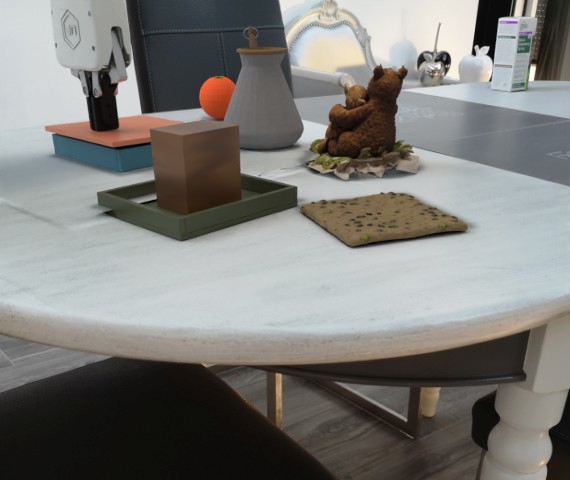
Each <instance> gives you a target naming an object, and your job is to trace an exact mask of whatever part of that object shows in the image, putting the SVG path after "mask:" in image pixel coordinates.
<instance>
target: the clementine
mask: <svg viewBox="0 0 570 480" xmlns="http://www.w3.org/2000/svg"><path fill="white" fill-rule="evenodd" d="M235 86H236V83H234V82H233V80H231V79H230V78H228V77H226V76H224V75H220V74H217V75H216V76H212V77H209V78H208V79H207V80H205V81H204V82H203V84H202V86H201V87H200V89H199V90H200V91H199V98H198V99H199V105H200V107H201V109H202V110H203V112H205V114H206V115H207V116H208V117H210V118H213V119H215V120H224V118H225V115H226V112H227V109H228V106H229V103H230V101H231V98H232V95H233V92H234V89H235Z"/></svg>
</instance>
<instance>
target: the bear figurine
mask: <svg viewBox="0 0 570 480" xmlns="http://www.w3.org/2000/svg"><path fill="white" fill-rule="evenodd" d="M372 73H373V75H371V77H370V78H369V79H368V83H367V86H366V87H365V86H362V85H361V84H354V85H352V86H350V85H349V83H348V82H345V83H344V85H343V86H344V87H343V91H344V92H343V93H344V95H345V101H344V104H345V106H344V105H342V104H341V103H335V104H334V105H333V106H332V107H331V109H330V110H329V113H328V122H329V124H328V126H327V128H326V130H325V135H324V138H317V139H315V140H313V141H312V142H311V144H310V145H309V146H310V147H309V148H308V150H309V151H310V152H313V153H314V154H317V155H319V156H317V157H316V158H315V159H312V160H308V161H307V163H308V164H309V165H307V164H305V167H306V168H307V169H308V168H311V169H313V170H315V171H317V172H320V173H321V174H322V175H323V174H327V173H330V172H333V173H334V175H335V176H337V177H338V178H340V179H342V180H343V181H348V180H350V174H352V173H355V174H356V175H358V179H382V178H383V175H384V173H385V171H387V170H393V169H394V170H395V171H404V172H407V173H412V174H418V169H419V162H420V156H418V155H414V154H415V151H414V150H413V147H414V145H412V144H410V143H406V144H405V143H404V142H405V139H399V140H397V126H396V115H397V113H398V109H399V105H398V104H397V101H398V98H399V95H400V94H401V91H402V88H403V84H404V80H405V78H406V77H407V76H408V74H409V69H408V68H406V67H405V65H404V64H402V65H401V67H400V68H399V69H397V70H393V69H392V68H391V67H383V65H382V63H380V64H379V65H376V66H375V67H374V68H373V71H372ZM396 140H397V141H396ZM403 143H404V144H403ZM370 172H371V173H373V174H374V175H373V174H371V173H370Z"/></svg>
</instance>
